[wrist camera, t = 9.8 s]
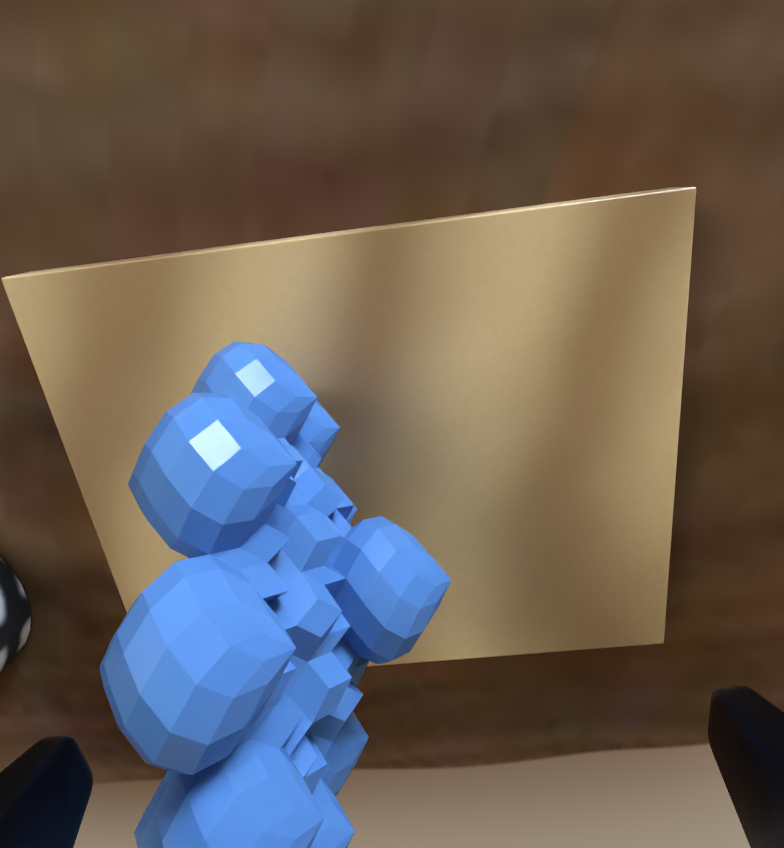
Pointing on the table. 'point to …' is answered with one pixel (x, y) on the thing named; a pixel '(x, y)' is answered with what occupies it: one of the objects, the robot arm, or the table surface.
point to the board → (421, 397)
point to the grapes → (257, 615)
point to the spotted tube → (12, 616)
